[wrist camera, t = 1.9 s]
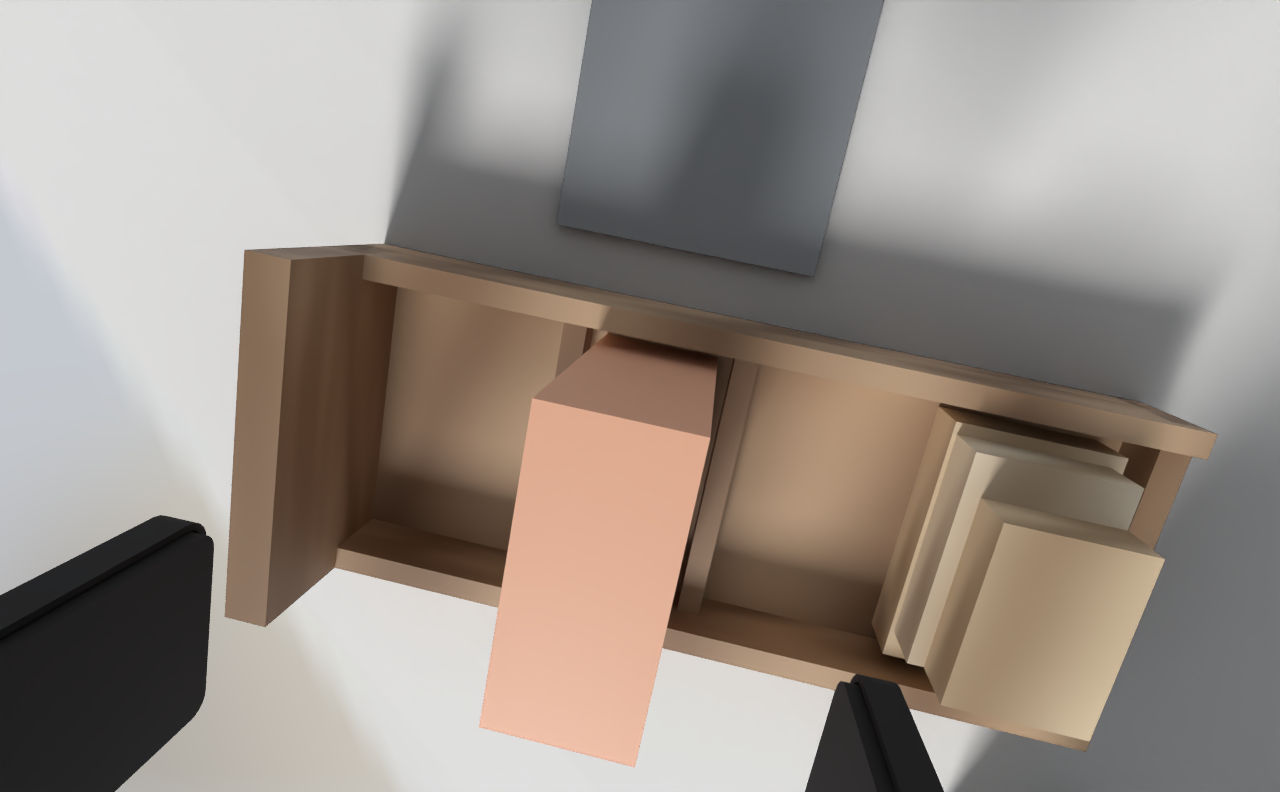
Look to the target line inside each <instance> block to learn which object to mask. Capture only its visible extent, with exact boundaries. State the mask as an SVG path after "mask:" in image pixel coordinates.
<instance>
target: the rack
mask: <svg viewBox="0 0 1280 792" xmlns="http://www.w3.org/2000/svg"><path fill="white" fill-rule="evenodd" d="M606 334H612V335H616V336H621V337H626V338H630V339H635V340H640V341H644V342H649V343H654V344H658V345H663V346H668V347H672V348H677V349H682V350H686V351H691V352H696V353H700V354H705V355H710V356H714V357H718V362H717V373H716V384H715V394H714V405H713V416H712V426H711V437H710V442H709V446H708V451H707V455H706V459H705V464H704V468H703V472H702V477H701V481H700V485H699V490H698V494H697V499H696V503H695V507H694V512H693V516H692V520H691V525H690V529H689V533H688V538H687V542H686V546H685V551H684V555H683V560H682V564H681V568H680V573H679V577H678V581H677V586H676V590H675V594H674V599H673V603H672V607H671V612H670V616H669V621H668V625H667V629H666V634H665V638H664V642H663V647H662V648H665V649H669V650H673V651H677V652H681V653H685V654H689V655H693V656H697V657H701V658H705V659H710V660H714V661H718V662H722V663H726V664H730V665H734V666H738V667H742V668H746V669H750V670H754V671H758V672H763V673H767V674H771V675H775V676H779V677H783V678H787V679H791V680H795V681H799V682H803V683H807V684H811V685H816V686H820V687H824V688H828V689H832V690H836V687H837V685H838V683H839V682H840V681H844V682H848V683H850V681H851V679H852V678H853V676H854V675H856V674H860V675H865V676H869V677H873V678H878V679H882V680H887V681H891V682H895V683H897V684H898V685H899V687H900V689H901V691H902V694H903V696H904V698H905V701H906V703H907V705H908V708H909V709H913V710H917V711H922V712H926V713H930V714H934V715H938V716H942V717H946V718H950V719H954V720H958V721H962V722H966V723H970V724H975V725H979V726H983V727H987V728H991V729H995V730H999V731H1003V732H1007V733H1011V734H1015V735H1019V736H1023V737H1027V738H1032V739H1036V740H1040V741H1044V742H1048V743H1052V744H1056V745H1060V746H1064V747H1068V748H1072V749H1076V750H1080V751H1085V752H1086V750H1087V748H1088V746H1089V743H1090V742H1089V741H1085V740H1081V739H1077V738H1073V737H1069V736H1065V735H1061V734H1057V733H1052V732H1048V731H1044V730H1040V729H1036V728H1032V727H1028V726H1024V725H1020V724H1016V723H1011V722H1007V721H1003V720H999V719H995V718H991V717H987V716H983V715H979V714H975V713H971V712H966V711H962V710H958V709H954V708H950V707H946V706H942V705H940V703H939V701H938V699H937V696H936V694H935V692H934V689H933V687H932V685H931V683H930V680H929V678H928V676H927V674H926V671H925V669H924V667H921V666H917V665H912V664H908V663H907V662H906V660H905V659H903V658H898V657H894V656H890V655H886V654H882V651H881V648H880V645H879V643H878V640H877V637H876V634H875V631H874V629H873V626H872V619H873V616H874V613H875V610H876V607H877V603H878V600H879V597H880V594H881V590H882V587H883V584H884V581H885V578H886V574H887V571H888V568H889V565H890V561H891V558H892V555H893V552H894V548H895V545H896V542H897V539H898V536H899V532H900V529H901V526H902V523H903V519H904V516H905V513H906V510H907V507H908V503H909V500H910V497H911V494H912V490H913V487H914V484H915V481H916V477H917V474H918V471H919V468H920V465H921V461H922V458H923V455H924V452H925V448H926V445H927V442H928V439H929V436H930V432H931V429H932V426H933V423H934V419H935V416H936V413H937V410H938V406H939V407H944V408H948V409H953V410H958V411H962V412H967V413H972V414H976V415H981V416H986V417H990V418H995V419H1000V420H1004V421H1009V422H1014V423H1018V424H1023V425H1028V426H1032V427H1037V428H1042V429H1046V430H1051V431H1056V432H1060V433H1065V434H1070V435H1074V436H1079V437H1084V438H1088V439H1093V440H1097V441H1099V442H1101V443H1102V444H1104V445H1106V446H1108V447H1109V448H1111V449H1113V450H1115V451H1116V452H1118V453H1120V454H1121V455H1123V456H1125V457H1127V458H1128V462H1127V464H1126V467H1125V470H1124V472H1123V476H1125V477H1127V478H1128V479H1130V480H1131V481H1133V482H1135V483H1136V484H1138V485H1139V486H1141V487H1142V488H1144V491H1143V494H1142V496H1141V499H1140V501H1139V504H1138V506H1137V509H1136V511H1135V514H1134V516H1133V519H1132V521H1131V524H1130V526H1129V529H1128V531H1129V532H1130V533H1132V534H1133V535H1134V536H1136V537H1137V538H1138V539H1140V540H1141V541H1142V542H1143V543H1145V544H1146V545H1147V546H1149V547H1150V548H1151V549H1153V550H1154V548H1155V546H1156V543H1157V541H1158V538H1159V536H1160V533H1161V531H1162V529H1163V526H1164V524H1165V521H1166V519H1167V516H1168V514H1169V511H1170V509H1171V507H1172V504H1173V502H1174V499H1175V497H1176V494H1177V492H1178V489H1179V487H1180V485H1181V482H1182V480H1183V477H1184V475H1185V472H1186V470H1187V467H1188V465H1189V463H1190V460H1191V458H1192V457H1197V458H1201V459H1206V460H1208V457H1209V455H1210V452H1211V450H1212V448H1213V445H1214V443H1215V440H1216V438H1217V436H1218V435H1217V434H1215V433H1213V432H1210V431H1208V430H1206V429H1203V428H1201V427H1199V426H1196V425H1194V424H1191V423H1189V422H1187V421H1184V420H1182V419H1180V418H1177V417H1175V416H1173V415H1170V414H1168V413H1165V412H1163V411H1161V410H1158V409H1156V408H1154V407H1151V406H1149V405H1147V404H1144V403H1141V402H1136V401H1132V400H1127V399H1122V398H1117V397H1113V396H1108V395H1103V394H1098V393H1093V392H1089V391H1084V390H1079V389H1074V388H1070V387H1065V386H1060V385H1055V384H1050V383H1046V382H1041V381H1036V380H1031V379H1027V378H1022V377H1017V376H1012V375H1007V374H1003V373H998V372H993V371H988V370H984V369H979V368H974V367H969V366H965V365H960V364H955V363H950V362H945V361H941V360H936V359H931V358H926V357H922V356H917V355H912V354H907V353H902V352H898V351H893V350H888V349H883V348H879V347H874V346H869V345H864V344H859V343H855V342H850V341H845V340H840V339H836V338H831V337H826V336H821V335H816V334H812V333H807V332H802V331H797V330H793V329H788V328H783V327H778V326H774V325H769V324H764V323H759V322H754V321H750V320H745V319H740V318H735V317H731V316H726V315H721V314H716V313H711V312H707V311H702V310H697V309H692V308H688V307H683V306H678V305H673V304H668V303H664V302H659V301H654V300H649V299H645V298H640V297H635V296H630V295H626V294H621V293H616V292H611V291H606V290H602V289H597V288H592V287H587V286H583V285H578V284H573V283H568V282H563V281H559V280H554V279H549V278H544V277H540V276H535V275H530V274H525V273H520V272H516V271H511V270H506V269H501V268H497V267H492V266H487V265H482V264H477V263H473V262H468V261H463V260H458V259H454V258H449V257H444V256H439V255H435V254H430V253H425V252H420V251H415V250H411V249H406V248H401V247H396V246H392V245H387V244H367V245H345V246H323V247H300V248H278V249H255V250H245V252H244V270H243V289H242V307H241V326H240V344H239V363H238V381H237V400H236V418H235V437H234V455H233V474H232V492H231V511H230V530H229V548H228V567H227V586H226V604H225V617H228V618H232V619H235V620H239V621H243V622H247V623H251V624H255V625H259V626H263V627H266V626H267V625H268V624H269V623H271V622H272V621H273V620H274V619H275V618H276V617H278V616H279V615H280V614H281V613H282V612H283V611H285V610H286V609H287V608H288V607H289V606H290V605H291V604H293V603H294V602H295V601H296V600H297V599H298V598H300V597H301V596H302V595H303V594H304V593H305V592H307V591H308V590H309V589H310V588H311V587H312V586H314V585H315V584H316V583H317V582H318V581H319V580H321V579H322V578H323V577H324V576H325V575H326V574H328V573H329V572H330V571H331V570H332V569H333V568H339V569H343V570H347V571H351V572H355V573H359V574H363V575H367V576H371V577H375V578H379V579H383V580H388V581H392V582H396V583H400V584H404V585H408V586H412V587H416V588H420V589H424V590H428V591H432V592H436V593H441V594H445V595H449V596H453V597H457V598H461V599H465V600H469V601H473V602H477V603H481V604H485V605H489V606H494V607H499V601H500V595H501V589H502V582H503V576H504V570H505V564H506V558H507V551H508V545H509V539H510V533H511V527H512V520H513V514H514V508H515V502H516V496H517V489H518V483H519V477H520V471H521V465H522V458H523V452H524V446H525V440H526V434H527V427H528V421H529V415H530V409H531V403H532V398H533V397H534V396H535V395H537V394H538V393H539V392H540V391H541V390H542V389H543V388H545V387H546V386H547V385H548V384H549V383H550V382H552V381H553V380H554V379H555V378H556V377H557V376H559V375H560V374H561V373H562V372H563V371H564V370H566V369H567V368H568V367H569V366H570V365H571V364H573V363H574V362H575V361H576V360H577V359H578V358H580V357H581V356H582V355H583V354H584V353H585V352H587V351H588V350H589V349H590V348H591V347H592V346H594V345H595V344H596V343H597V342H598V341H599V340H601V339H602V338H603V337H604V336H605V335H606ZM1093 734H1094V732H1093ZM1093 734H1092V736H1093ZM1091 738H1092V737H1091ZM1090 741H1091V739H1090Z"/></svg>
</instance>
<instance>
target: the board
mask: <svg viewBox="0 0 1280 792" xmlns="http://www.w3.org/2000/svg"><path fill="white" fill-rule="evenodd" d="M717 362H718V357H714V356H710V355H705V354H700V353H696V352H691V351H686V350H682V349H677V348H672V347H668V346H663V345H658V344H654V343H649V342H644V341H640V340H635V339H630V338H626V337H621V336H616V335H612V334H606V335H605V336H604V337H603V338H602V339H601V340H599V341H598V342H597V343H596V344H595V345H594V346H592V347H591V348H590V349H589V350H588V351H587V352H585V353H584V354H583V355H582V356H581V357H580V358H578V359H577V360H576V361H575V362H574V363H573V364H571V365H570V366H569V367H568V368H567V369H566V370H564V371H563V372H562V373H561V374H560V375H559V376H557V377H556V378H555V379H554V380H553V381H552V382H550V383H549V384H548V385H547V386H546V387H545V388H543V389H542V390H541V391H540V392H539V393H538V394H537V395H535V396H534V397H533V398H532V403H531V409H530V415H529V421H528V427H527V434H526V440H525V446H524V452H523V458H522V465H521V471H520V477H519V483H518V489H517V496H516V502H515V508H514V514H513V520H512V527H511V533H510V539H509V545H508V551H507V558H506V564H505V570H504V576H503V582H502V589H501V595H500V601H499V607H498V613H497V620H496V626H495V632H494V638H493V644H492V651H491V657H490V663H489V669H488V675H487V682H486V688H485V694H484V700H483V706H482V712H481V719H480V725H479V727H481V728H484V729H488V730H492V731H496V732H500V733H504V734H508V735H512V736H515V737H519V738H523V739H527V740H531V741H535V742H539V743H542V744H546V745H550V746H554V747H558V748H562V749H566V750H570V751H573V752H577V753H581V754H585V755H589V756H593V757H597V758H601V759H604V760H608V761H612V762H616V763H620V764H624V765H628V766H631V767H635V764H636V760H637V756H638V751H639V747H640V743H641V738H642V734H643V730H644V725H645V721H646V716H647V712H648V708H649V703H650V699H651V695H652V690H653V686H654V682H655V677H656V673H657V669H658V664H659V660H660V655H661V651H662V647H663V642H664V638H665V634H666V629H667V625H668V621H669V616H670V612H671V607H672V603H673V599H674V594H675V590H676V586H677V581H678V577H679V573H680V568H681V564H682V560H683V555H684V551H685V546H686V542H687V538H688V533H689V529H690V525H691V520H692V516H693V512H694V507H695V503H696V499H697V494H698V490H699V485H700V481H701V477H702V472H703V468H704V464H705V459H706V455H707V451H708V446H709V442H710V437H711V426H712V416H713V405H714V394H715V384H716V373H717Z"/></svg>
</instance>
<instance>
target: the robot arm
mask: <svg viewBox="0 0 1280 792" xmlns="http://www.w3.org/2000/svg"><path fill="white" fill-rule="evenodd" d="M213 554H214V543H213V540H212V538H211V537H209V536H206V531H205V529H204V527H203V526H202V525H201V524H199V523H194V522H190V521H186V520H182V519H177V518H172V517H168V516H162V515H160V516H157V517H153V518H151V519H149V520H147V521H146V522H144V523H142V524H140V525H138V526H136V527H134V528H132V529H130V530H128V531H126V532H124V533H122V534H120V535H118V536H116V537H114V538H112V539H110V540H108V541H106V542H104V543H102V544H100V545H98V546H96V547H94V548H92V549H91V550H89V551H87V552H85V553H83V554H81V555H79V556H77V557H75V558H73V559H71V560H69V561H67V562H65V563H63V564H61V565H59V566H57V567H55V568H53V569H51V570H49V571H47V572H45V573H43V574H41V575H39V576H37V577H36V578H34V579H32V580H30V581H28V582H26V583H24V584H22V585H20V586H18V587H16V588H14V589H12V590H10V591H8V592H6V593H4V594H2V595H0V792H115V791H116V790H117V789H118V788H119V787H120V786H121V785H122V784H123V783H124V782H125V781H126V780H128V779H129V777H131V776H132V775H133V774H134V773H135V772H136V771H137V770H138V769H139V768H140V767H141V766H142V765H144V764H145V763H146V762H147V761H148V760H149V759H150V758H151V757H152V756H153V755H154V754H155V753H156V752H157V751H158V750H159V749H161V748H162V747H163V746H164V745H165V744H166V743H167V742H168V741H169V740H170V739H171V738H172V737H173V736H174V735H176V734H177V733H178V732H179V731H180V730H181V729H182V728H183V727H184V726H185V725H186V724H187V723H188V722H189V721H190V720H191V719H192V718H193V717H194V716H195V715H196V713H197V712H198V710H199V708H200V706H201V704H202V702H203V699H204V696H205V690H206V674H207V656H208V640H209V623H210V622H209V621H210V606H211V605H210V604H211V587H212V586H211V585H212V571H213ZM805 792H944V791H943V788H942V786H941V783H940V781H939V779H938V776H937V774H936V772H935V769H934V767H933V765H932V762H931V760H930V757H929V755H928V753H927V750H926V748H925V746H924V743H923V741H922V738H921V736H920V734H919V731H918V729H917V727H916V724H915V722H914V720H913V717H912V715H911V712H910V710H909V708H908V705H907V703H906V701H905V698H904V696H903V694H902V691H901V689H900V687H899V685H898V684H897V683H895V682H891V681H887V680H882V679H878V678H873V677H869V676H865V675H860V674H856V675H854V676H853V678H852V679H851V681H850V683H848V682H844V681H840V682H839V683H838V685H837V687H836V690H835V693H834V696H833V700H832V703H831V706H830V710H829V713H828V716H827V720H826V723H825V726H824V730H823V733H822V736H821V740H820V743H819V746H818V750H817V753H816V757H815V760H814V763H813V767H812V770H811V773H810V777H809V780H808V783H807V787H806V790H805Z"/></svg>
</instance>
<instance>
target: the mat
mask: <svg viewBox="0 0 1280 792" xmlns="http://www.w3.org/2000/svg"><path fill="white" fill-rule="evenodd" d="M883 2H884V0H592V4H591V10H590V17H589V23H588V29H587V35H586V42H585V48H584V54H583V60H582V67H581V73H580V79H579V85H578V92H577V98H576V104H575V110H574V117H573V123H572V129H571V135H570V142H569V148H568V154H567V160H566V167H565V173H564V179H563V185H562V192H561V198H560V204H559V210H558V217H557V223H556V224H557V225H562V226H567V227H572V228H577V229H582V230H587V231H592V232H597V233H601V234H606V235H611V236H616V237H621V238H626V239H631V240H636V241H641V242H646V243H651V244H655V245H660V246H665V247H670V248H675V249H680V250H685V251H690V252H695V253H700V254H705V255H710V256H714V257H719V258H724V259H729V260H734V261H739V262H744V263H749V264H754V265H759V266H764V267H768V268H773V269H778V270H783V271H788V272H793V273H798V274H803V275H808V276H813V277H814V275H815V271H816V267H817V263H818V259H819V255H820V251H821V247H822V243H823V239H824V235H825V231H826V227H827V223H828V219H829V215H830V211H831V208H832V204H833V200H834V196H835V192H836V188H837V184H838V180H839V176H840V172H841V168H842V164H843V160H844V156H845V152H846V148H847V144H848V140H849V136H850V132H851V128H852V124H853V120H854V116H855V113H856V109H857V105H858V101H859V97H860V93H861V89H862V85H863V81H864V77H865V73H866V69H867V65H868V61H869V57H870V53H871V49H872V45H873V41H874V37H875V33H876V29H877V25H878V21H879V18H880V14H881V10H882V6H883Z"/></svg>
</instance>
